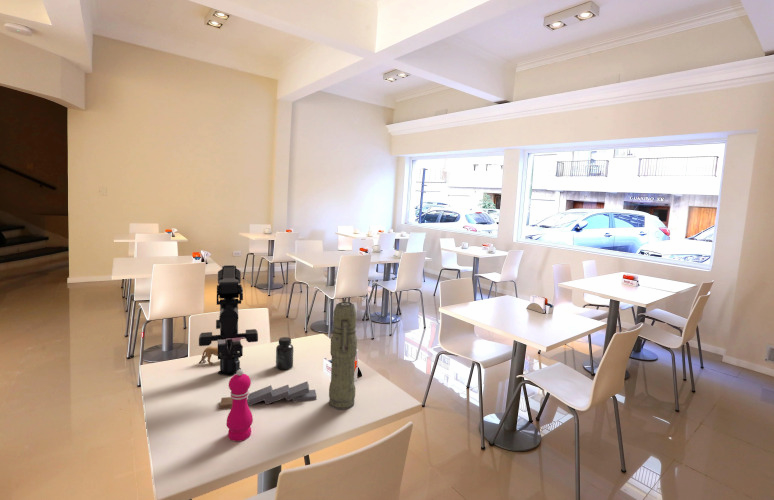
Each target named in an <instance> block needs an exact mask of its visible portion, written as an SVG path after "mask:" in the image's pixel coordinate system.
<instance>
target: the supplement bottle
mask: <svg viewBox="0 0 774 500" xmlns="http://www.w3.org/2000/svg"><path fill="white" fill-rule="evenodd" d="M293 367H294V346H293V344H292V339H291V337H290V336H289V337H288V336H285V337H279V338H278V345H276V348H275V368H276V369H277V370H279V371H280V370H281V371H288V370H291V369H292V368H293Z"/></svg>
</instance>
